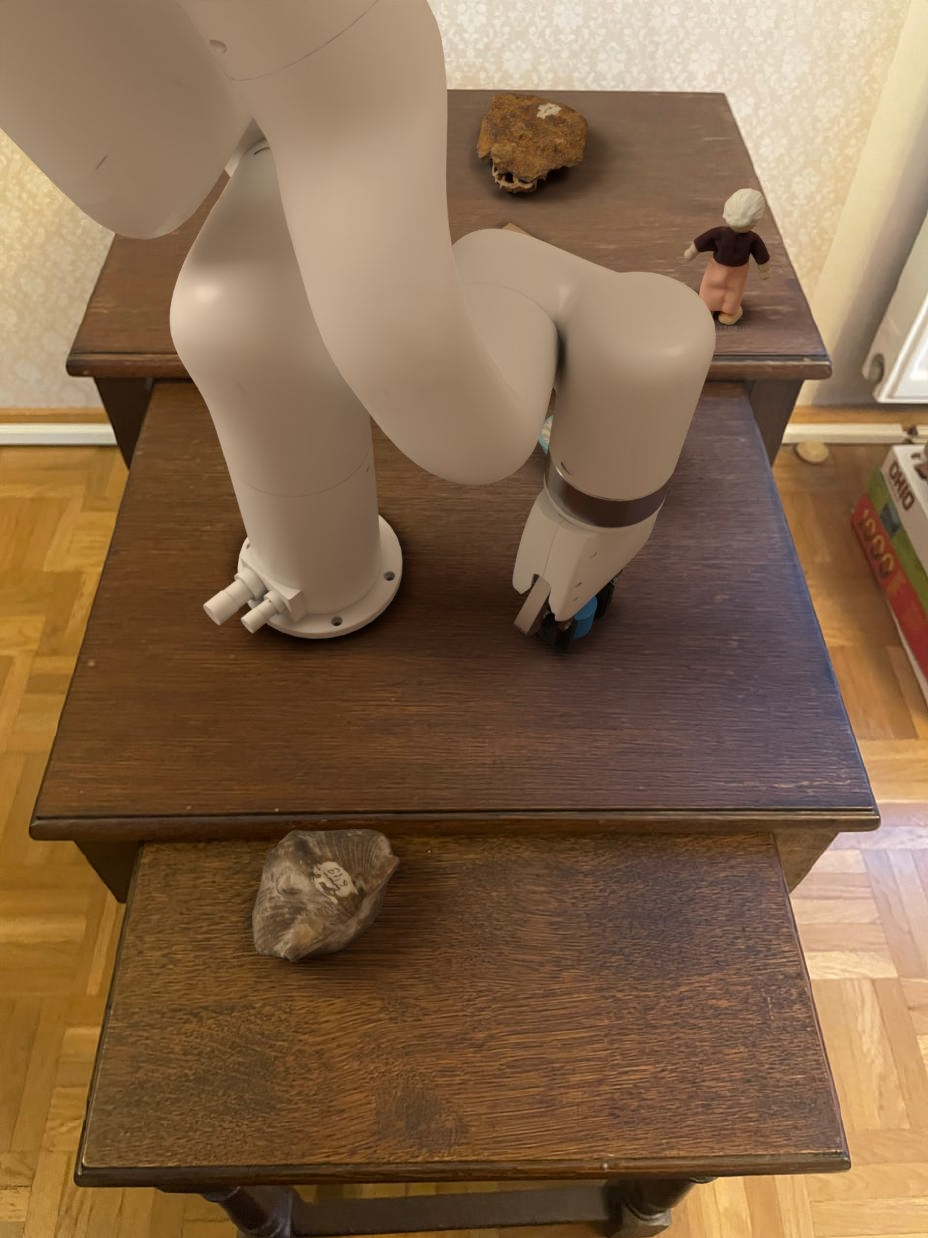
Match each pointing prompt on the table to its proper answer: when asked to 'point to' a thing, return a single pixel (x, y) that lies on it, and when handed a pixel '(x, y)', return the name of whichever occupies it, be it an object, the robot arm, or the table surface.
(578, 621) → the eye peg
